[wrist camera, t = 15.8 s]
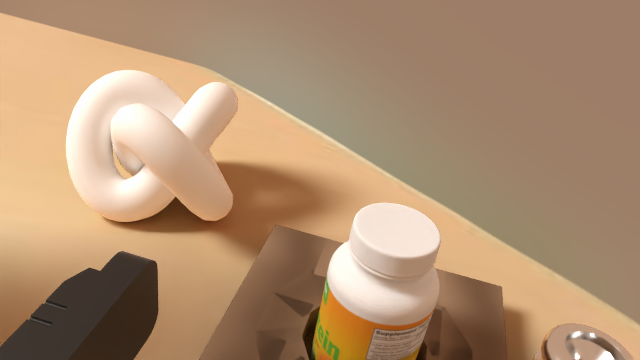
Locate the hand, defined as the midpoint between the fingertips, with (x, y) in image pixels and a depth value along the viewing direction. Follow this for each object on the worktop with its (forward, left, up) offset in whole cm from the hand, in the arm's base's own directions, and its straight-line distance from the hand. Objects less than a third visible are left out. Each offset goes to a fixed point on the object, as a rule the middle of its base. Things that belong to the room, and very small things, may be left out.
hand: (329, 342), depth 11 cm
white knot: (-15, +21, -15) cm, 30 cm away
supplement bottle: (+1, +12, -15) cm, 19 cm away
